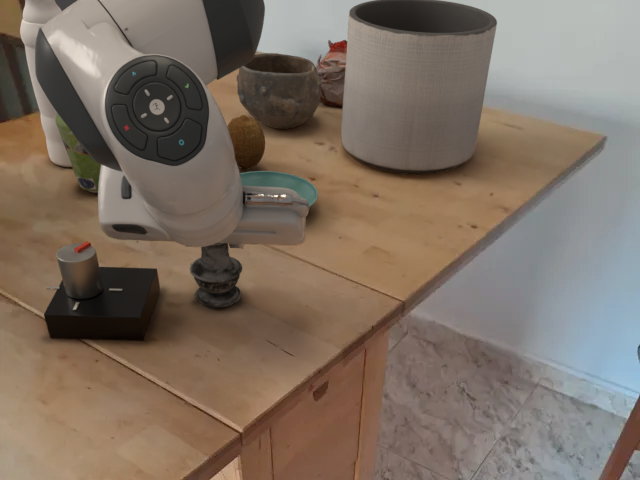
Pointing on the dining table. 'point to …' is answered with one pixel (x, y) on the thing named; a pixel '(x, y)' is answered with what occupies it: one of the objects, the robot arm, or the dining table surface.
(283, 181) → the saucer
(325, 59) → the food item
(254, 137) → the fruit
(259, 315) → the dining table surface
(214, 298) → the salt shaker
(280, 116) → the bowl
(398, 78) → the planter
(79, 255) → the hob knob
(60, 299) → the dial base
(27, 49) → the water bottle
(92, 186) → the beverage can
